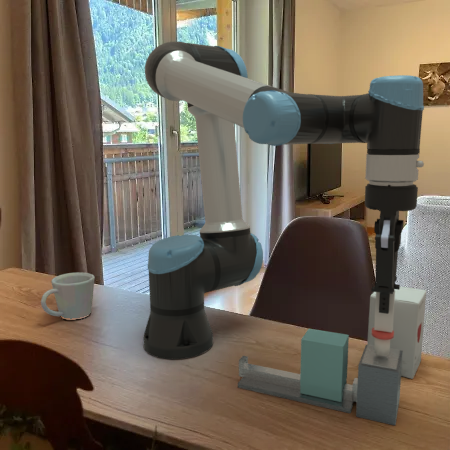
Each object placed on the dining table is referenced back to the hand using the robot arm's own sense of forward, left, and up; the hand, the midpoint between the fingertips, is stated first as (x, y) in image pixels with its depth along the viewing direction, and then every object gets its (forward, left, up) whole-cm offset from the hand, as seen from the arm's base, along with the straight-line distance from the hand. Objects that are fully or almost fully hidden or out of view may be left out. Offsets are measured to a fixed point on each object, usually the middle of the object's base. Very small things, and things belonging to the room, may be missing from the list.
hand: (383, 329), depth 75 cm
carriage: (-9, 0, -14) cm, 17 cm away
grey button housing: (0, 0, -14) cm, 14 cm away
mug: (-76, +10, -14) cm, 78 cm away
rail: (-14, 0, -14) cm, 20 cm away
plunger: (0, 0, -4) cm, 4 cm away
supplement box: (+1, +17, -14) cm, 22 cm away
